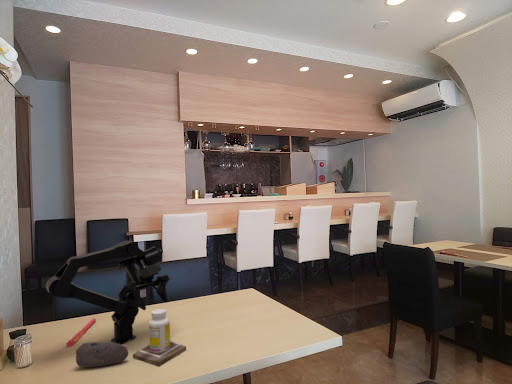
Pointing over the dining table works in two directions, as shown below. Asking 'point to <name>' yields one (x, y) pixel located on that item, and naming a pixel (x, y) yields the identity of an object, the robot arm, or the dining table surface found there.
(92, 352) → the perforated stone tool
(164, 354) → the seat plate
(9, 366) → the dining table surface
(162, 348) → the supplement bottle
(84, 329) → the chopstick
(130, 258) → the robot arm
